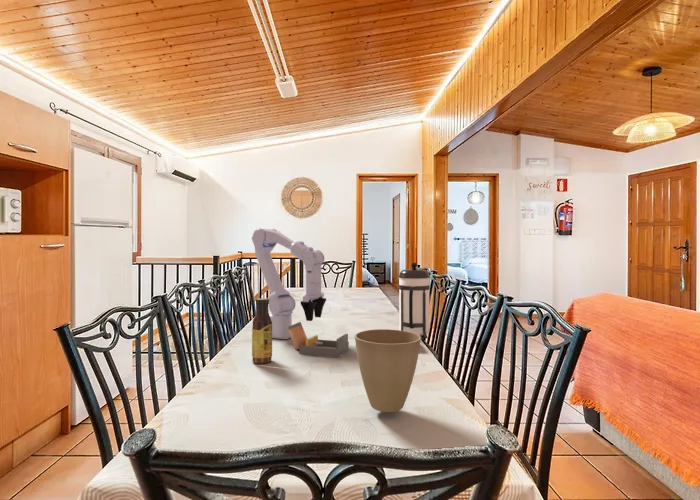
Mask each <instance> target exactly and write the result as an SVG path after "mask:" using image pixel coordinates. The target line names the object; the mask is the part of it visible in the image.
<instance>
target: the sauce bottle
mask: <svg viewBox="0 0 700 500" xmlns="http://www.w3.org/2000/svg"><path fill="white" fill-rule="evenodd" d="M255 305H256V309H255V315H254V317H253V319H252V328H251V331H252V332H251V357H252V363H253V364H261V365H263V364H266V363H267V364H268V363H270V362H272V356H273V338H272V321H271V318H270V315H269V314H270V313H269V311H270V310H269V299H268V297H267V298H256V299H255Z"/></svg>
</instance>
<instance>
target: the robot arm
mask: <svg viewBox="0 0 700 500" xmlns="http://www.w3.org/2000/svg"><path fill="white" fill-rule="evenodd" d="M251 240H252V243H253V246H254V253H255V257H256V259H257V262H258V265H259V267H260V270H261V272H262V274H263V278H264V280H265V282H266V285H267V287H268V290H269V292H270V293H269V296H268V297H267V299H269V304H268V310H269V311H270V313H269V315H270V318H271V321H272V339H279V340H280V339H284V340H287V339H291V335H290V333H289V330H288V328H287V327H289V326H291V325H293V324H292V321H293V317H292V316H293V315H292V314H294V313H293V311H294V310H295V309H296V306H297V305H296V304H297V303H296V300H295V298H294V297H293V296H292V295H291V293H290V291H288V290H287V289H285V288H284V285H283V283H282V280H281V278H280V276H279V273H278V270H277V268H276V266H275V263H274V260H273V258H272V255H271V252H272V251H273V250H274V248H275V247H276V246H277V244H279V245H280V246H283V247H284V248H286V249H288V250H289V251H290V254H291V255H293V256H294V257H296V258H297V259H298V260H300V261H302V263H303V264H304V269H305V294H304V296H302V301H300V306H301V307H302V310H303V311H304V312H303V313H304V315H305V320H306V321H307V322H313V319H314V317H315V318H321V317H322V313H323V309H324V305H325V303H326V301H327V298H326V297H325V293H324V292H322V264H324V262H325V255H324V253H323V252H322V251H321V250H317V249H316V250H314V247H312V246H308V245H306V244H305V242H304V241H302V240H301V241H294V240H292V239H291V238H289V237H288V236H287V235H285V234H283V233H282V232H281V231H279V230H277V229H275V228H272V229H271V228H270V229H269V228H261V227H258V228H256V229H255V230H254V231H253V233H252V236H251Z"/></svg>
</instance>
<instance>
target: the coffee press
mask: <svg viewBox="0 0 700 500" xmlns="http://www.w3.org/2000/svg"><path fill="white" fill-rule="evenodd" d="M417 266H418V264H417V263H416V262H412V263H411V267H412V268H405V269H402V270H401V271H400V272H399V274H398V279H399V280H398V281H399V283H398V291H399V292H398V296H399V297H398V298H399V300H398V301H399V303H398V305H399V310H398V313H399V315H398V317H399V328H398V330H401V331H408V332H412V333H415V334H418V335H419V336H420V337H421V339H422V338H424V339H428V334H429V333H430V291H431V285H430V278H431V275H430V274H429V271H428V270H426V269H423V268H422V269H421V268H417Z"/></svg>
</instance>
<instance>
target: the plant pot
mask: <svg viewBox="0 0 700 500" xmlns="http://www.w3.org/2000/svg"><path fill="white" fill-rule="evenodd" d="M354 340H355V348H356V357H357V361H358V368H359V370H360V376H361V378H362V379H361V380H362V382H363V387H364V389H365V394H366V396H367V399H368V401H369V402H368V403H369V405H370V407H371V408H372V409H373V410H376V411H378V412H383V413H394V412H398V411H399V412H400V411H401V410H403V408H404V405H405V403H406V401H407V398H408V395H409V392H410V390H411V387H412V383H413V379H414V376H415V372H416V369H417V364H418V359H419V354H420V347H421V340H422V337H421V336H419V335H418V334H415V333H412V332H408V331H401V330H400V329H387V328H385V329H384V328H383V329H382V328H380V329H379V328H377V329H375V328H374V329H367V330H362V331H358V332H356V333H355V334H354Z"/></svg>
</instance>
